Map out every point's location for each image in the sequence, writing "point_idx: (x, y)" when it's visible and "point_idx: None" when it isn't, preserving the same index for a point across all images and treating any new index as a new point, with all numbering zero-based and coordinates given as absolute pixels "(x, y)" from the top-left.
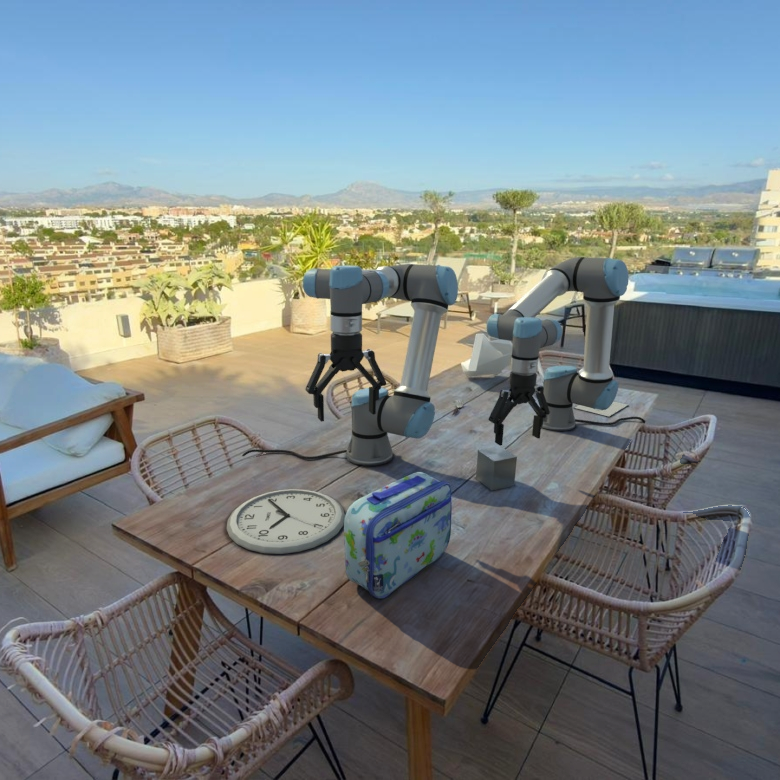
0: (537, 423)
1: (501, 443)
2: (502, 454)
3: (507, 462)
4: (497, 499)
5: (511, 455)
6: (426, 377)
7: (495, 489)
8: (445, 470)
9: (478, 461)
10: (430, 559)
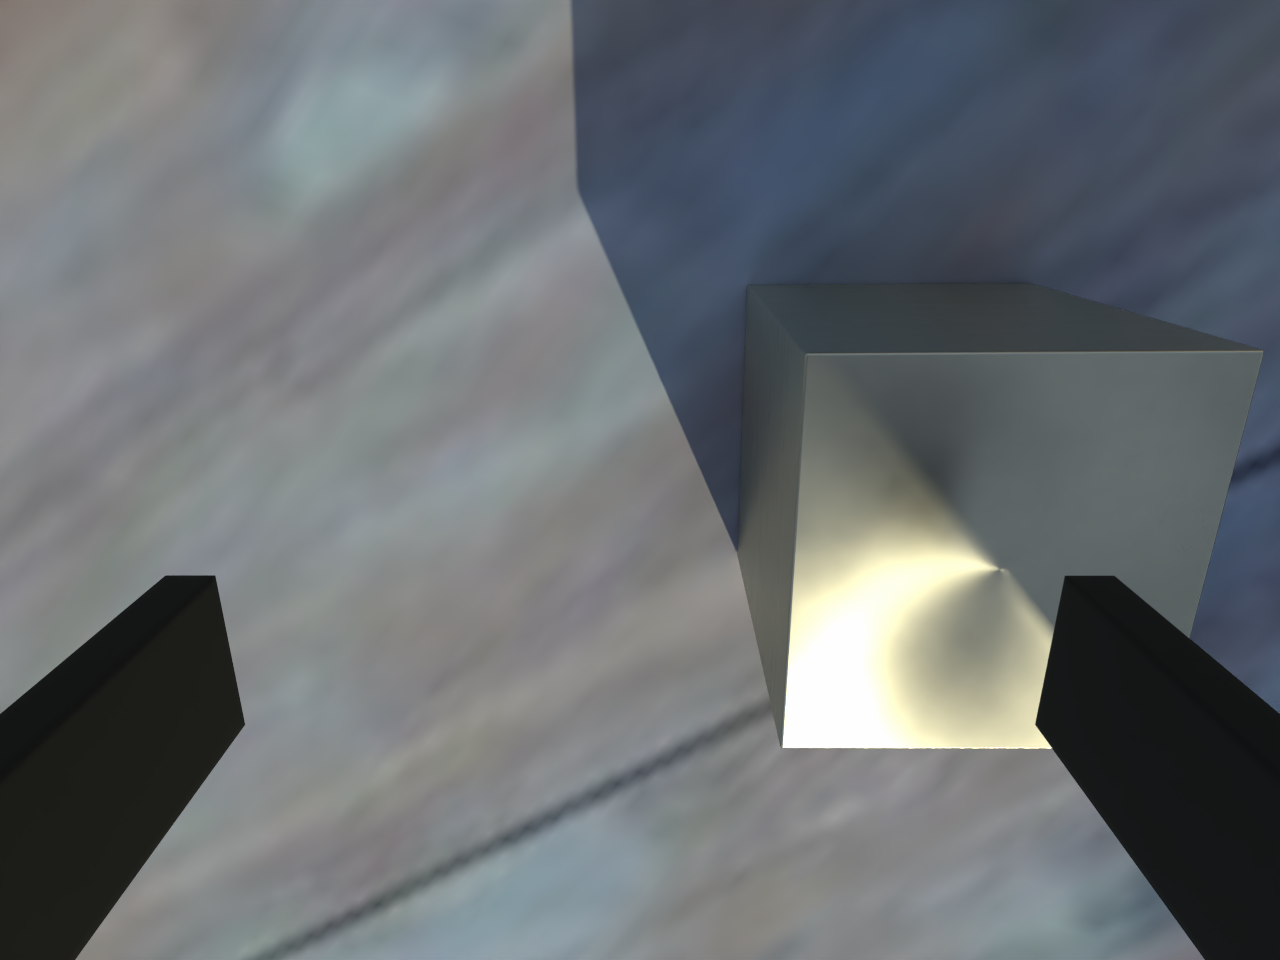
0: (9, 852)
1: (1109, 595)
2: (953, 510)
3: (968, 337)
4: (1113, 92)
5: (852, 429)
6: None
7: (986, 284)
8: None
9: None
10: None
